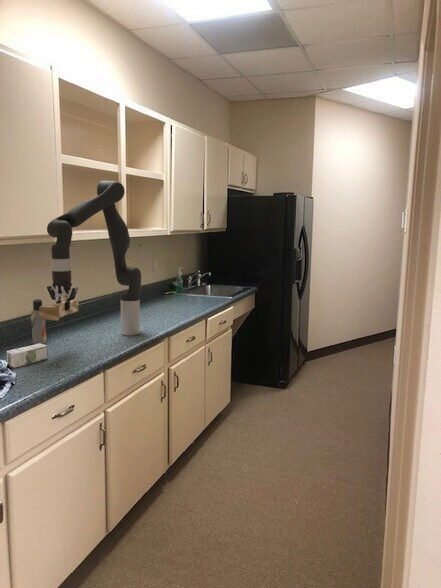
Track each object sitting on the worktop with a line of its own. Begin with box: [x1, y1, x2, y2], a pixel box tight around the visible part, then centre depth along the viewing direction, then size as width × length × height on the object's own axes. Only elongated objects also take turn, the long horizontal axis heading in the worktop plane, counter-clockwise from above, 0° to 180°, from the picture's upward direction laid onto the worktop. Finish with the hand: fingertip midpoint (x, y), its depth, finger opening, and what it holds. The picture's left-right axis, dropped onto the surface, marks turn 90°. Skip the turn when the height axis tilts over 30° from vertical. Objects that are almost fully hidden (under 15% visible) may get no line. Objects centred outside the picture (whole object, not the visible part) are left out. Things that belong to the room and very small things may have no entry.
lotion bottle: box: [30, 298, 47, 345], centre depth 206 cm, size 6×6×20 cm
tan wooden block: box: [39, 298, 79, 322], centre depth 191 cm, size 20×8×5 cm, turn 166°
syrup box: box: [6, 343, 49, 368], centre depth 181 cm, size 6×6×14 cm
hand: (63, 309), depth 191 cm, fingers closed on tan wooden block, 3 cm apart
